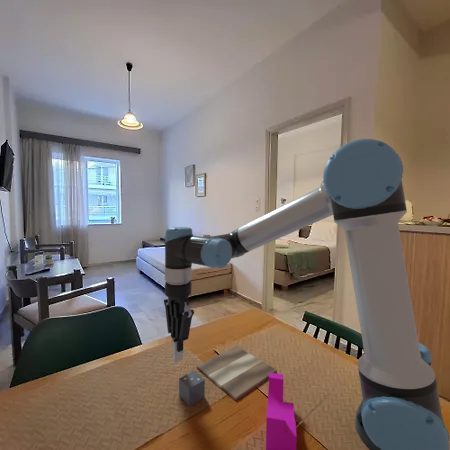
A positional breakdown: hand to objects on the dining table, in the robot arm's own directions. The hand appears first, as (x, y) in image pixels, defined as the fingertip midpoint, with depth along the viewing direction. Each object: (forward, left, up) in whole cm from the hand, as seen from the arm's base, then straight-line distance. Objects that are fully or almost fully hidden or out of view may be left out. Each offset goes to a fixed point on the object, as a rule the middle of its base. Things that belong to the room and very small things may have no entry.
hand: (177, 359), depth 74 cm
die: (-7, 0, -7) cm, 10 cm away
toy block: (-28, -11, -7) cm, 31 cm away
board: (-7, -17, -7) cm, 20 cm away
